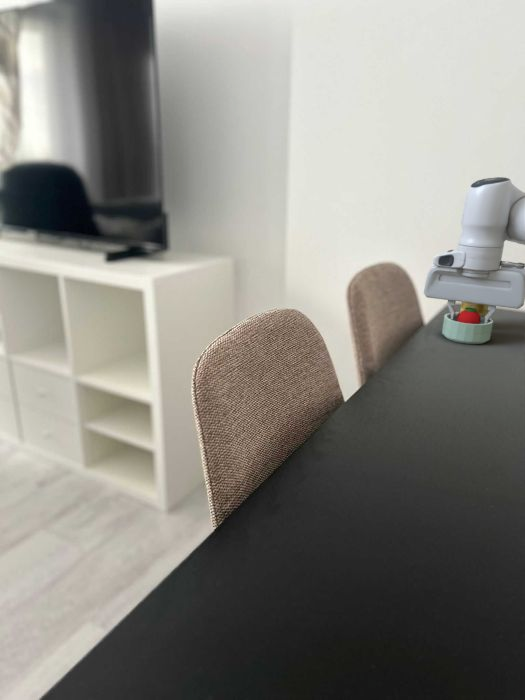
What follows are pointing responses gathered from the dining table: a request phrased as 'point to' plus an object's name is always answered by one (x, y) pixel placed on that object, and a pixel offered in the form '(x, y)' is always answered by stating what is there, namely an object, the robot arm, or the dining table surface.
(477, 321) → the tomato
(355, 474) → the dining table surface
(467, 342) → the bowl
